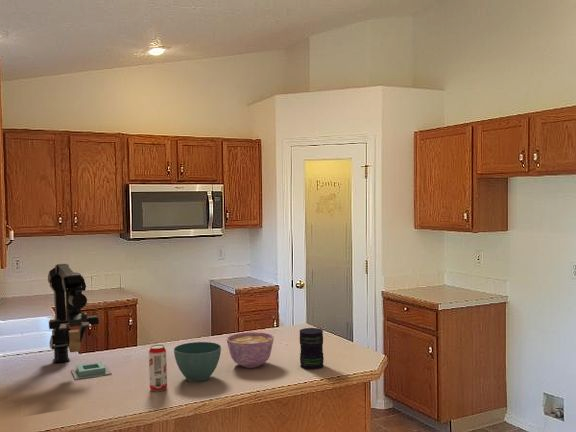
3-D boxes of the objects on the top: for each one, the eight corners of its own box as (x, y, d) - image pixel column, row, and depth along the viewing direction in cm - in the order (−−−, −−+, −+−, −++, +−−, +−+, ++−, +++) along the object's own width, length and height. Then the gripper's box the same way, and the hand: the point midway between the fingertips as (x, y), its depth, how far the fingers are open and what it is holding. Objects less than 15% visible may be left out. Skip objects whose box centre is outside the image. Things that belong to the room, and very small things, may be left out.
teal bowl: (200, 368, 239) (199, 339, 239) (231, 376, 227) (230, 345, 227) (165, 380, 225) (164, 348, 225) (196, 389, 213) (195, 356, 213)
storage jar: (321, 370, 233) (321, 333, 233) (298, 369, 235) (297, 333, 235) (325, 363, 243) (324, 328, 242) (302, 362, 245) (301, 327, 244)
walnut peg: (69, 350, 234) (68, 330, 234) (79, 348, 236) (78, 329, 236) (70, 352, 231) (69, 332, 231) (80, 351, 232) (79, 331, 232)
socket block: (70, 370, 240) (70, 364, 240) (105, 365, 246) (105, 359, 246) (75, 380, 227) (74, 373, 227) (111, 374, 234) (111, 368, 233)
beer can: (150, 392, 210) (148, 349, 210) (149, 387, 216) (148, 345, 216) (167, 391, 212) (166, 347, 211) (166, 385, 218) (165, 343, 217)
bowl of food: (217, 368, 239) (217, 340, 238) (243, 356, 256) (242, 330, 256) (259, 374, 229) (258, 345, 229) (283, 361, 247) (282, 334, 247)
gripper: (49, 310, 222) (50, 350, 222) (100, 305, 230) (101, 344, 230) (48, 305, 232) (49, 344, 232) (96, 301, 240) (97, 338, 240)
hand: (74, 343), depth 233 cm, fingers closed on walnut peg, 4 cm apart
